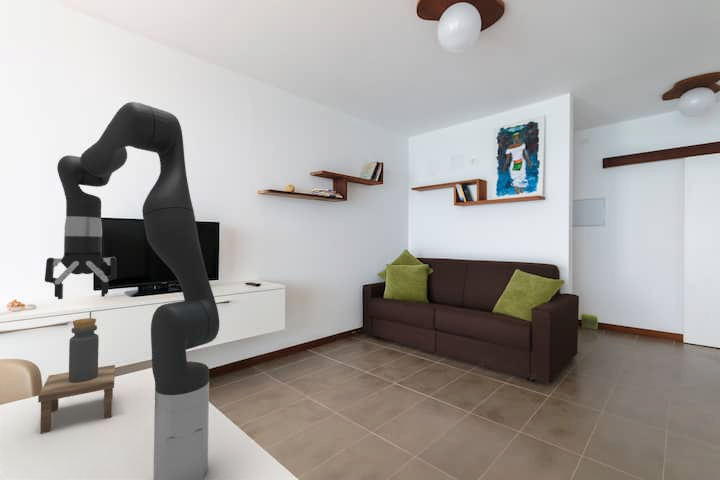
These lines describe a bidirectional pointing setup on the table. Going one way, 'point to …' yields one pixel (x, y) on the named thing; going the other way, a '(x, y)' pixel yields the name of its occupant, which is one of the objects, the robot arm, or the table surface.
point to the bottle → (83, 351)
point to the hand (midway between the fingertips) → (82, 297)
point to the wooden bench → (74, 392)
